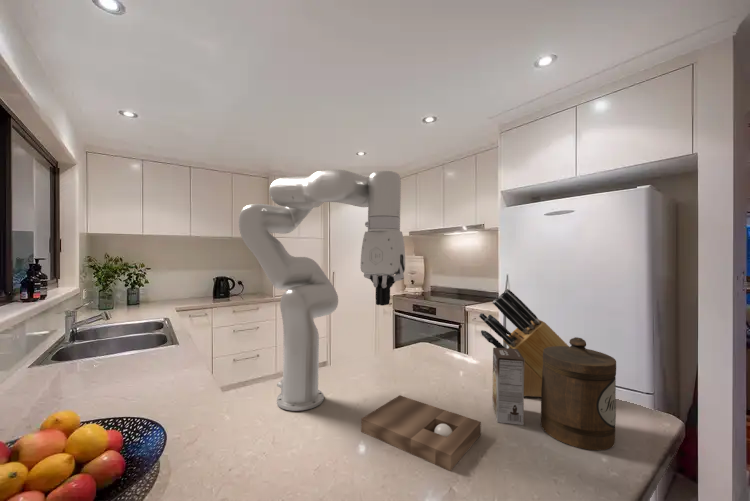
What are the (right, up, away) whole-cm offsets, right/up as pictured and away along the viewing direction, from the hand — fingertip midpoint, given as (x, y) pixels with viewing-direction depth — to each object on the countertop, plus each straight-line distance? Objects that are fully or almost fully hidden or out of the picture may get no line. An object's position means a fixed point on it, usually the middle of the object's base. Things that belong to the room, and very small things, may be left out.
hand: (382, 304), depth 77 cm
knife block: (+48, -30, +23) cm, 61 cm away
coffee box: (+32, -30, +8) cm, 44 cm away
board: (+9, -29, -1) cm, 31 cm away
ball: (+13, -27, -5) cm, 31 cm away
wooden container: (+45, -30, 0) cm, 54 cm away
